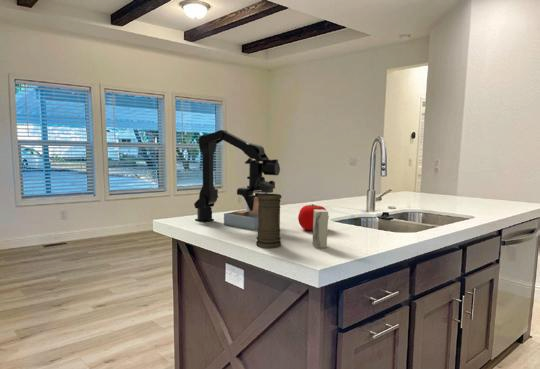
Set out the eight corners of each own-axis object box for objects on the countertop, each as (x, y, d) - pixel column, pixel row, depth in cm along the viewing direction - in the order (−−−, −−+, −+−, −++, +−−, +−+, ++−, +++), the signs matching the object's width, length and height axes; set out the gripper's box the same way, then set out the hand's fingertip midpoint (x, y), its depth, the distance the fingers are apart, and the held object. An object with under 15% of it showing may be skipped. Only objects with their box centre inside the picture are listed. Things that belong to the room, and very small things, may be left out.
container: (263, 249, 128) (263, 196, 127) (251, 243, 136) (252, 193, 135) (285, 246, 133) (287, 195, 131) (273, 240, 141) (274, 192, 139)
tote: (223, 224, 169) (223, 213, 168) (243, 220, 179) (243, 209, 179) (254, 230, 159) (254, 218, 158) (272, 225, 169) (272, 214, 169)
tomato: (292, 229, 161) (292, 204, 160) (310, 225, 170) (311, 201, 169) (314, 234, 153) (315, 207, 152) (333, 229, 162) (333, 204, 161)
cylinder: (256, 214, 163) (256, 198, 162) (247, 213, 166) (247, 197, 165) (263, 213, 167) (263, 197, 166) (254, 212, 170) (254, 196, 169)
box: (312, 244, 136) (313, 209, 135) (324, 244, 137) (325, 209, 135) (315, 248, 131) (316, 211, 130) (327, 248, 131) (328, 211, 130)
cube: (242, 224, 168) (242, 212, 167) (233, 222, 171) (233, 211, 170) (249, 222, 172) (249, 211, 171) (240, 220, 175) (240, 210, 174)
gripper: (257, 176, 152) (256, 214, 154) (283, 174, 167) (282, 209, 169) (236, 175, 159) (235, 211, 160) (263, 173, 174) (262, 206, 175)
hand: (255, 209), depth 166 cm, fingers closed on cylinder, 5 cm apart
